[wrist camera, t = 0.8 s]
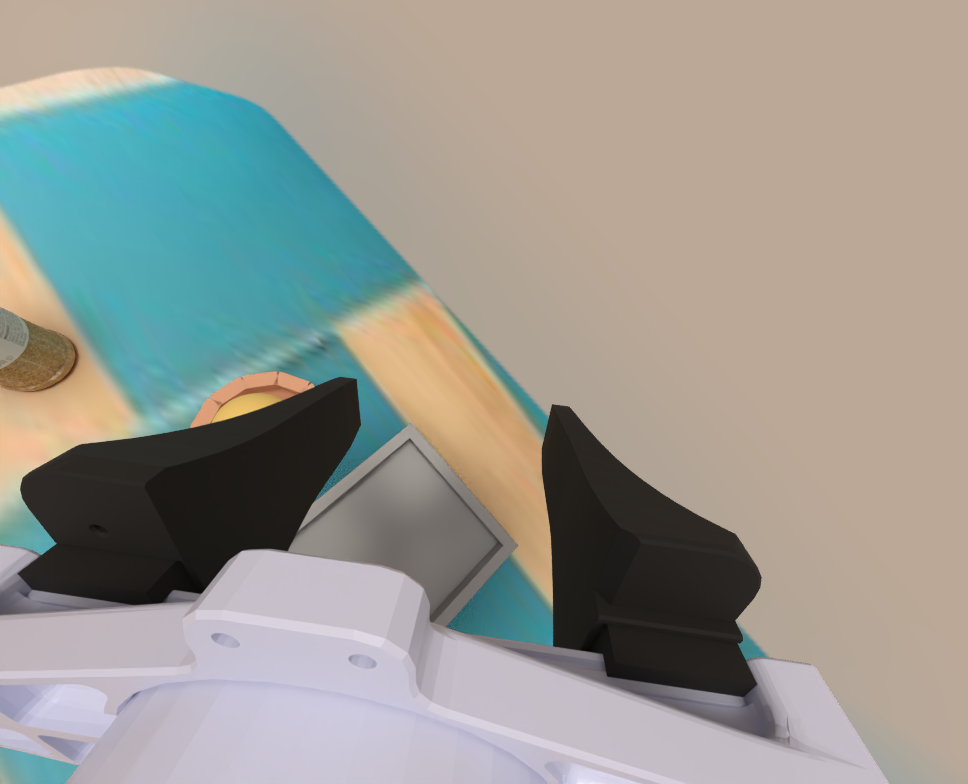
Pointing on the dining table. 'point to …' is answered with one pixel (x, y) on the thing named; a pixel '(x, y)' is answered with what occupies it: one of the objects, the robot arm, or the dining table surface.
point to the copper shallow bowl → (249, 384)
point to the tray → (410, 524)
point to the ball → (244, 405)
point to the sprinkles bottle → (31, 354)
